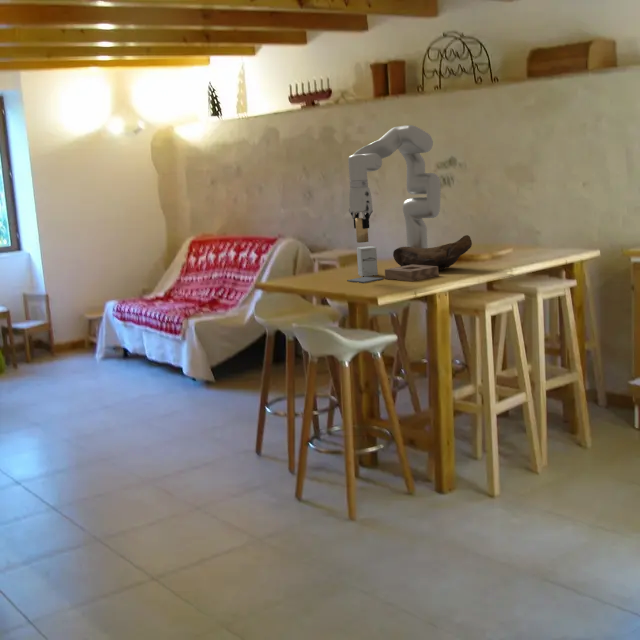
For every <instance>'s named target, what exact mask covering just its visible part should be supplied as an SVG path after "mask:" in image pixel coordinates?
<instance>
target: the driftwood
mask: <svg viewBox="0 0 640 640" xmlns="http://www.w3.org/2000/svg"><path fill="white" fill-rule="evenodd" d="M471 238H472V237H471V236H469V234H468V235H467V234H466V235H463V236H462V237H461V238H459V239H458V240H457V241H455V242H451V243H446V244H442V245H439V246H434V247H428V248H414V247H407V246H400V247H397V248H395V249H394V250H393V252H392V255H393V259H394V261H395V263H396V264H398V265H399V267H401V266H407V265H426V266H438V271H441V270H445V269H448V268H449V267H451V266H453V265H454V264H455V263H456V262H457V261H458V260H459V258H460V257H461V256H462V255H464V254H466V252H468V251H469V250H470V249H471V248H472V245H473V243H472V239H471Z"/></svg>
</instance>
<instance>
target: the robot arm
mask: <svg viewBox="0 0 640 640" xmlns="http://www.w3.org/2000/svg"><path fill="white" fill-rule="evenodd" d="M433 145H434V141H433V137H432V136H431V135H430V134H429V133H428V132H427V131H425V130H423V129H421V128H420V127H419V126H418V127H417V126H416V125H411V124H410V125H409V124H407V125H399V126H394V127H392V128H390V129H389V130H388V131H387V132H386V133H384V134H383V136H381V137H380V138H379V139H377V140H375V141H373V142H371V143H369V144H367V145H364V146H363V147H361V148H359V149H357V150H356V151H355V152H354V153H353V154H352V155H349V156H348V159H347V162H348V175H349V176H348V177H349V187H350V188H349V197H348V201H349V202H348V203H349V209H348V213H349V214H350V215H351V218H352V220H353V229H355V230H356V223H355V218H360V215H361V214H362V218H363V219H362V223H363V229H366V228H368V229H370V218H371V215H372V213H373V212H374V209H373V200H372V195H371V194H372V193H371V188H370V187H369V182H368V179H369V178H368V173H369V172H370V173H371V172H377V171H378V170H380V169H381V167H382V164H383V160H382V159H386V158H388V157H390V156H392V155H393V154H394V153H395V152H396V151H397V150H398V151H399V153H400V154H401V156H402V157H403V159H404V160H405V162H406V163H405V165H406V191H407V193H408V194H409V195H414V196H415V195H418V197H409V198H407V199H406V200H404V201H403V202H402V203H403V204H402V214H403V217H404V222H405V234H406V235H405V236H406V247H414V248H429V247H428V228H427V225H426V223H425V221H424V219H434V218H437V217H438V216H439V214H440V211H441V194H442V193H441V192H442V190H441V189H442V188H441V187H442V185H441V180H440V176H438V174H436V173H434V172H433V173H432V172H426V162H425V159H424V158H423V156H422V154H424V153H428V152H430V151H431V150H432V149H433ZM419 195H426V197H424V196H422V197H419ZM360 213H361V214H360Z"/></svg>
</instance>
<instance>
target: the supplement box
mask: <svg viewBox="0 0 640 640" xmlns="http://www.w3.org/2000/svg"><path fill="white" fill-rule="evenodd" d="M377 256H378V255H377V247H376V246H372V245H371V246H370V245H369V246H359V247H356V258H357V259H356V260H357V273H358V276H360V277H363V276H364V277H366V276H368V277H374V276H378V275H379V274H378V260H377V259H378V257H377ZM373 275H374V276H373Z"/></svg>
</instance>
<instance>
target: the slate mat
mask: <svg viewBox="0 0 640 640" xmlns="http://www.w3.org/2000/svg"><path fill="white" fill-rule="evenodd" d="M382 279H383V280H384V277H379V276H378V277H376V276H364V277H362V276H360V277H356V278H352V279H347V280H346V281H347V282H348V281H350V282H349V283H357V282H359V283H360V284H365V283H366V284H367V283H371V282H372V281H373V282H378V281H382ZM377 280H378V281H377ZM373 282H372V283H373Z"/></svg>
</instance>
